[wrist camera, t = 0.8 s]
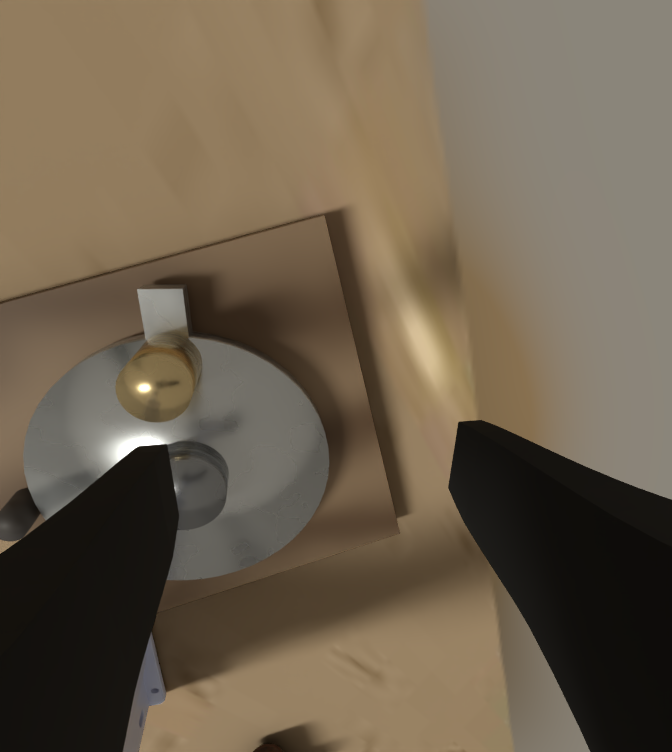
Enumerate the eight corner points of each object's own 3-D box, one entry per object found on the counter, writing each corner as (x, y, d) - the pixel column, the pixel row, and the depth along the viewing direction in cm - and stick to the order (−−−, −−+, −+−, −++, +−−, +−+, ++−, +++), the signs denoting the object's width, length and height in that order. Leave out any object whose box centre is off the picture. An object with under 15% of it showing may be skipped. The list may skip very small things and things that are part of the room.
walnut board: (393, 518, 25) (410, 557, 22) (105, 612, 24) (85, 665, 21) (320, 214, 17) (331, 216, 15) (-109, 331, 16) (-183, 357, 13)
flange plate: (324, 548, 23) (336, 609, 19) (74, 579, 21) (36, 654, 17) (328, 282, 17) (345, 302, 13) (-21, 286, 15) (-107, 311, 11)
